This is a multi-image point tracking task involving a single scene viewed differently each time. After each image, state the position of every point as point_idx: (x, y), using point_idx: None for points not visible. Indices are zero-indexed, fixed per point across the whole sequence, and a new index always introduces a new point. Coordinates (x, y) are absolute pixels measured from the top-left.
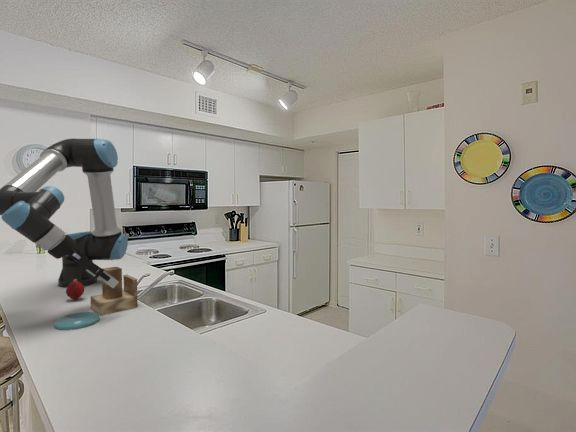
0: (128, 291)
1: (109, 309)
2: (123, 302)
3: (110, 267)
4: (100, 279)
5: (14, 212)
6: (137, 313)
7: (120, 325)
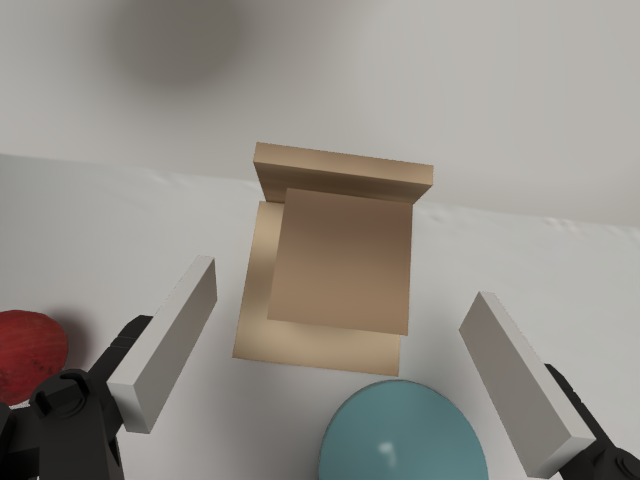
0: None
1: None
2: None
3: (283, 242)
4: (213, 300)
5: None
6: (462, 259)
7: (548, 362)
